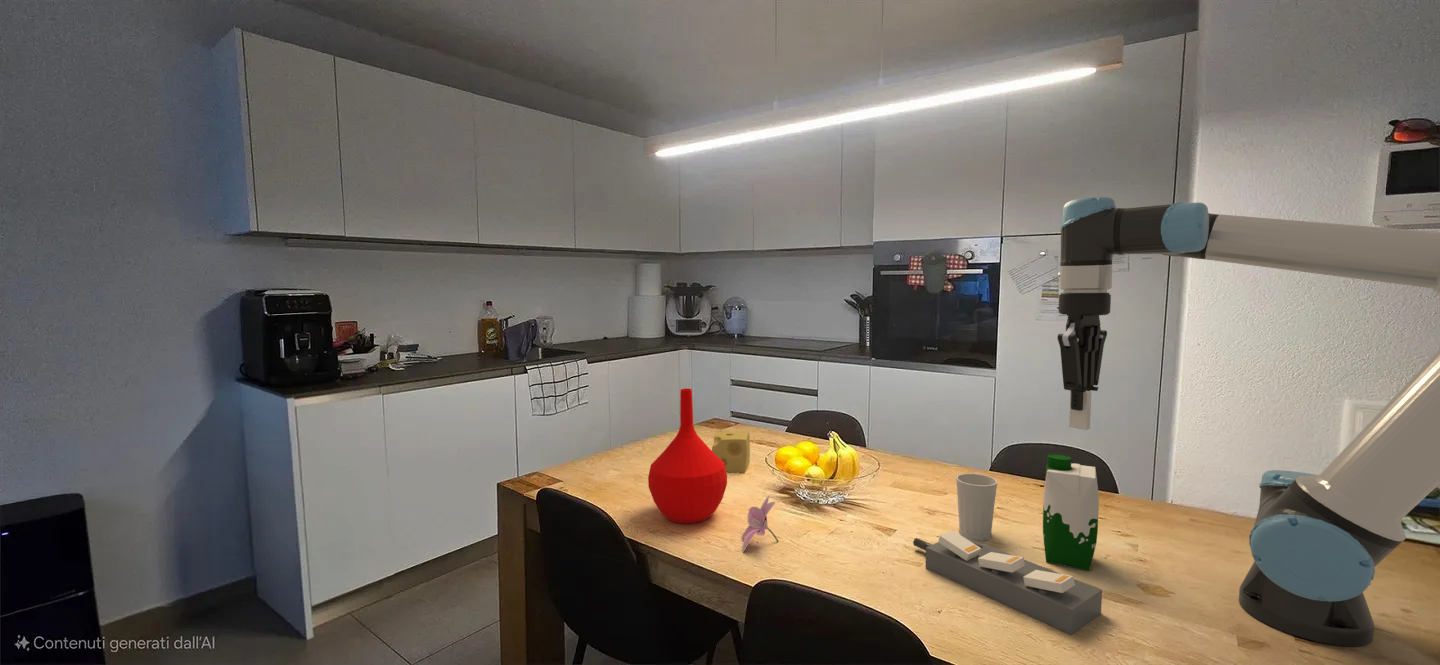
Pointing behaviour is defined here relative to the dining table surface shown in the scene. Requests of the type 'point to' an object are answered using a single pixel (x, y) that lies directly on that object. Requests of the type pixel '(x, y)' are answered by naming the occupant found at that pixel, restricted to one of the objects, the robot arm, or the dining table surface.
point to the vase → (687, 473)
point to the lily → (757, 522)
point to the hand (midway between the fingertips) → (1079, 427)
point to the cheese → (733, 449)
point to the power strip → (1017, 587)
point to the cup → (976, 505)
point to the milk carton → (1070, 512)
